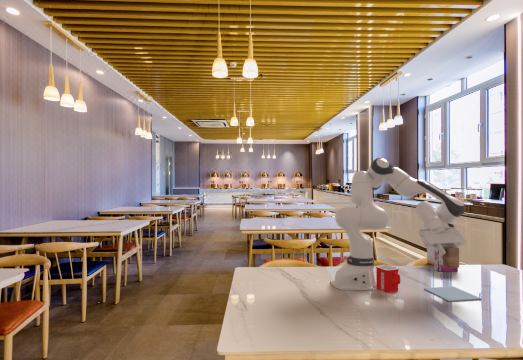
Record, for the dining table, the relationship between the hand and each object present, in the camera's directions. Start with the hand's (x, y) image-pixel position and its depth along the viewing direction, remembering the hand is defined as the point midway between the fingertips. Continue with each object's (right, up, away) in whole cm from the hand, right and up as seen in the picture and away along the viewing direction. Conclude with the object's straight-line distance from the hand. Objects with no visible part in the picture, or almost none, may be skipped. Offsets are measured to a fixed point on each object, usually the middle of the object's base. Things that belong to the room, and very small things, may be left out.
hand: (451, 253), depth 142 cm
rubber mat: (0, -19, 0) cm, 19 cm away
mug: (-26, -19, +5) cm, 33 cm away
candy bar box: (+20, -19, +38) cm, 47 cm away
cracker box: (+22, -20, +50) cm, 58 cm away
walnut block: (0, -6, +1) cm, 6 cm away
